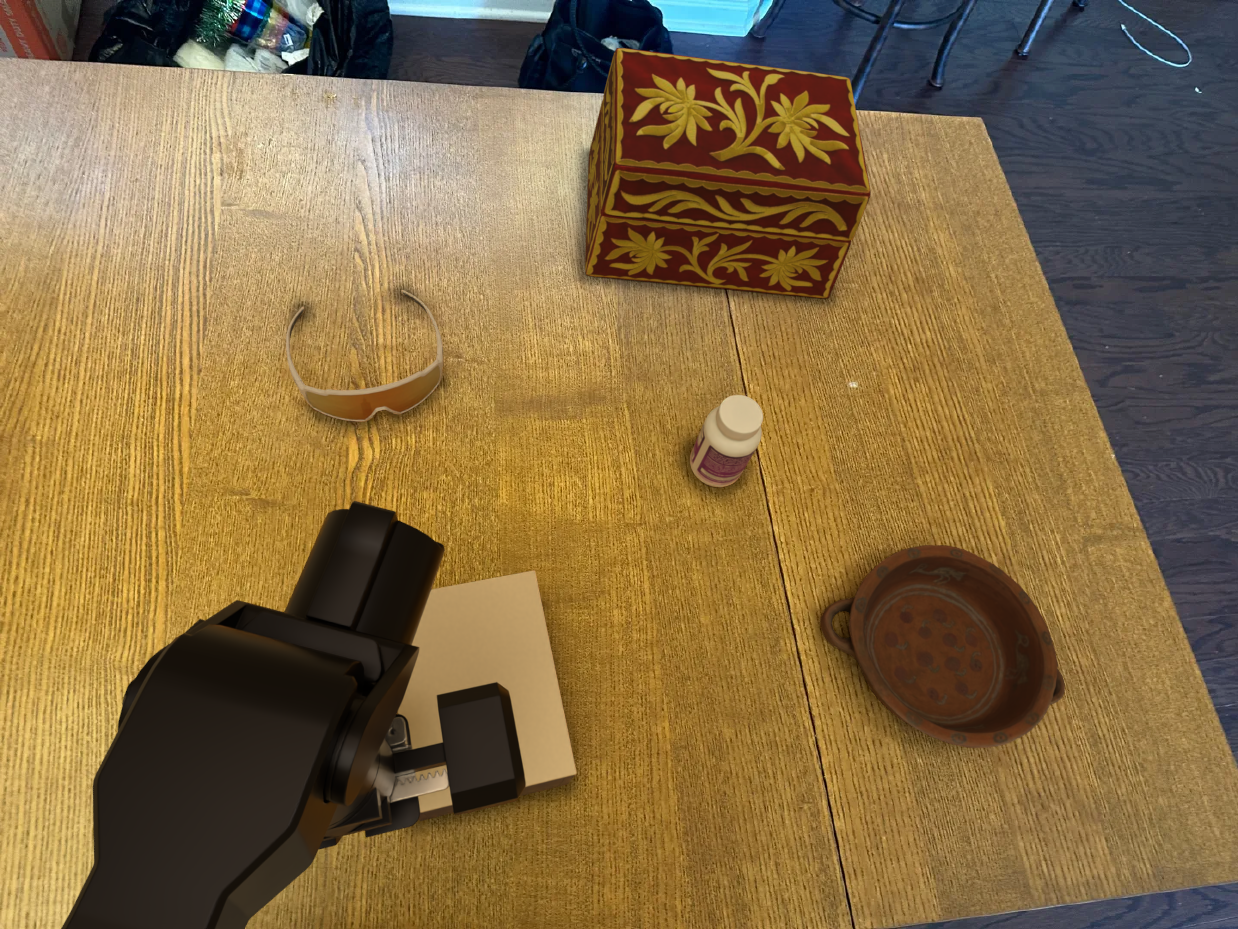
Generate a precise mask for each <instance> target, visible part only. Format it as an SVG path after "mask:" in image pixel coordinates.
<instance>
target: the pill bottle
mask: <svg viewBox="0 0 1238 929" xmlns="http://www.w3.org/2000/svg"><path fill="white" fill-rule="evenodd" d="M763 422H764V412H763V410H762V408H761V406H760V405H759V403H758V402H757V401H756V400H755V399H753V398H751V397H749V396H747V395H743V394H733V395H729V396H727V397H725V399H723V401H721V403H720V405H718V406H716V407H714V408H713V409H712V410H710V412H709V413H708V414H707V416H706V417H705V419H704V422H703V424H702V427H701V428H700V431H699V433H698V435H697V438H696V440H695V442H694V445H693V447H692V449H691V452H690V456H689V464H690V468H691V471H692V473H693V474H694V476H695V477H696V478H697V479H698V480H699V481H700V482H702V483H703V484H704V485H707V486H710V487H714V488H724V487H727V486H730V485H733V484H734V483H736V482H737V481H738V480H739V478H740V477H741V476H742V474H743V472H744V471H745V469H746V467H747V466H748V464H749V462H750V460H751V459H752V457H753V455H754V454H755V452H756V451H757V449H758V448H759V445H760V443H761V440H762V436H763V435H762V434H763V433H762V432H763V431H762V430H763V429H762V425H763Z"/></svg>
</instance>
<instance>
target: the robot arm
mask: <svg viewBox="0 0 1238 929" xmlns="http://www.w3.org/2000/svg"><path fill="white" fill-rule="evenodd" d="M445 552H446V548H445V545H444V544H443V543H441V542H439V541H436V540H435V539H433V537H431V536H429V535H428V534H426V533H425V532H424V531H421V530H420V529H418V528H416V527H414V526H412V525H410V524H408V523H406V522H403V521H401V520H399V519H398V515H397V512H396V511H395V510H392V509H388V508H384V507H380V506H376V505H373V504H368V503H366V502H361V501H356V500H353V501H352V502H351V503H350V505H349V508H340V509H333V510H331V511H330V512H327V513H326V516H325V518H324V520H323V523H322V525H321V527H320V530H319V531H318V534H317V536H316V539H315V541H314V543H313V546H312V547H311V550H310V553H309V555H308V557H307V558H306V561H305V563H304V565H303V568H302V570H301V573H300V575H299V577H298V580H297V582H296V584H295V586H294V589H293V591H292V593H291V596H290V598H289V600H288V602H287V604H286V606H285V609H284V611H282V610H279V609H274V608H270V607H267V606H263V605H258V604H254V603H252V602H251V603H250V602H247V601H244V600H239V599H236V600H234V601H233V602H231V603H230V604H227V605H226V606H225V607H224V608H222V609H220V610H219V611H217V612H215V613H214V614H213V615H211V616H210V617H208V618H207V619H202V618H198V620H197V621H195V623H194V624H192V625H191V626H190V627H189V628H188V629H187V630H186V631H185V632H183V633H181V634H179V635H178V636H176V637H174V638H173V640H172V641H171V642H169V643H168V644H167V645H165V646H163V647H162V648H160V649H159V650H158V651H157V652H155V654H153V655H152V656H151V657H150V658H148V660H147V661H146V662H145V663H144V665H143V667H142V668H141V669H140V670H139V671H138V673H137V674H136V676H135V677H134V678H133V679H132V680H131V681H130V682H129V684H128V685H127V686H126V689H125V692H124V694H123V697H122V702H121V705H122V706H121V709H120V714H119V718H118V721H117V731H116V732H117V733H116V734H115V736H114V737H113V739H112V742H111V743H110V745H109V748H108V749H107V751H106V754H105V755H104V758H103V759H102V761H101V763H100V764H99V767H98V769H97V771H96V773H95V775H94V778H93V780H92V781H93V782H92V823H93V824H92V826H93V828H92V831H93V832H92V833H93V864H92V867H91V869H90V871H89V873H88V875H87V878H86V879H85V881H84V883H83V885H82V887H81V889H80V891H79V893H78V896H77V897H76V899H75V902H74V904H73V905H72V907H71V910H70V912H69V914H68V915H67V917H66V919H65V921H64V923H63V924H62V926H61V928H60V929H246V927H247V925H248V923H249V921H250V920H251V919H252V918H253V917H254V916H255V915H256V914H257V913H259V912H260V911H261V910H262V909H263V908H264V907H266V905H267V904H269V903H270V902H271V901H272V900H273V899H275V898H276V897H277V896H278V895H279V894H280V893H282V891H284V890H285V889H286V888H287V887H289V885H291V884H292V883H293V882H294V881H295V880H296V879H297V878H299V877H300V876H301V875H302V874H304V873H305V871H307V870H308V869H309V868H310V866H312V864H313V862H314V861H315V859H316V856H317V854H318V852H319V851H320V850H323V849H327V848H332V847H336V846H337V845H338V844H339V842H340V841H341V840H342V838H343V837H345V836H349V835H353V834H358V833H362V832H364V835H365V838H367V839H368V838H371V837H375V836H378V835H382V834H387V833H391V832H394V831H399V830H402V829H407V828H410V827H413V826H414V825H415V824H417V822H418V821H419V820H418V819H419V817H420V804H419V797H418V796H421V795H425V794H429V793H433V792H438V791H442V790H445V789H447V788H448V787H450V794H451V800H452V806H453V811H454V813H453V815H454V816H460V815H465V814H471V813H475V812H478V811H482V810H487V809H490V808H495V807H499V806H502V805H503V806H504V805H506V804H510V803H514V802H517V801H518V800H519V798H520V797H521V796H520V795H521V793H522V792H523V790H524V788H525V786H526V782H525V774H524V768H523V763H522V757H521V752H520V747H519V741H518V736H517V730H516V725H515V719H514V714H513V708H512V703H511V698H510V694H509V690H507V689H506V688H504V687H503V686H502V685H500V684H499V683H498V682H495V683H490V684H485V685H481V686H476V687H472V688H467V689H462V690H458V691H453V692H448V693H444V694H439V695H437V704H438V712H439V719H440V726H441V733H442V739H443V742H442V743H438V744H433V745H429V746H425V747H420V748H416V749H413V746H412V743H411V735H410V729H409V724H408V720H407V719H406V717H405V716H403V715H401V714H398V709H399V707H400V705H401V703H402V700H403V698H404V695H405V692H406V689H407V686H408V683H409V681H410V678H411V675H412V672H413V669H414V666H415V663H416V660H417V657H418V654H419V647H417V646H413V645H412V643H413V640H414V637H415V634H416V631H417V629H418V626H419V623H420V620H421V617H422V614H423V612H424V609H425V606H426V603H427V600H428V597H429V595H430V592H431V589H433V586H434V583H435V580H436V578H437V574H438V572H439V569H440V566H441V563H442V561H443V557H444V555H445ZM444 765H446V767H447V771H446V769H443V772H442V775H440V774H439V772H438V771H435V776H434V777H432V775H431V773H430V772H429V773H428V776H427V779H425V778H424V776H423V774H421V775H420V780H419V781H418V780H417V775H416V772H419V771H423V770H427V769H432V768H436V767H440V766H444Z"/></svg>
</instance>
